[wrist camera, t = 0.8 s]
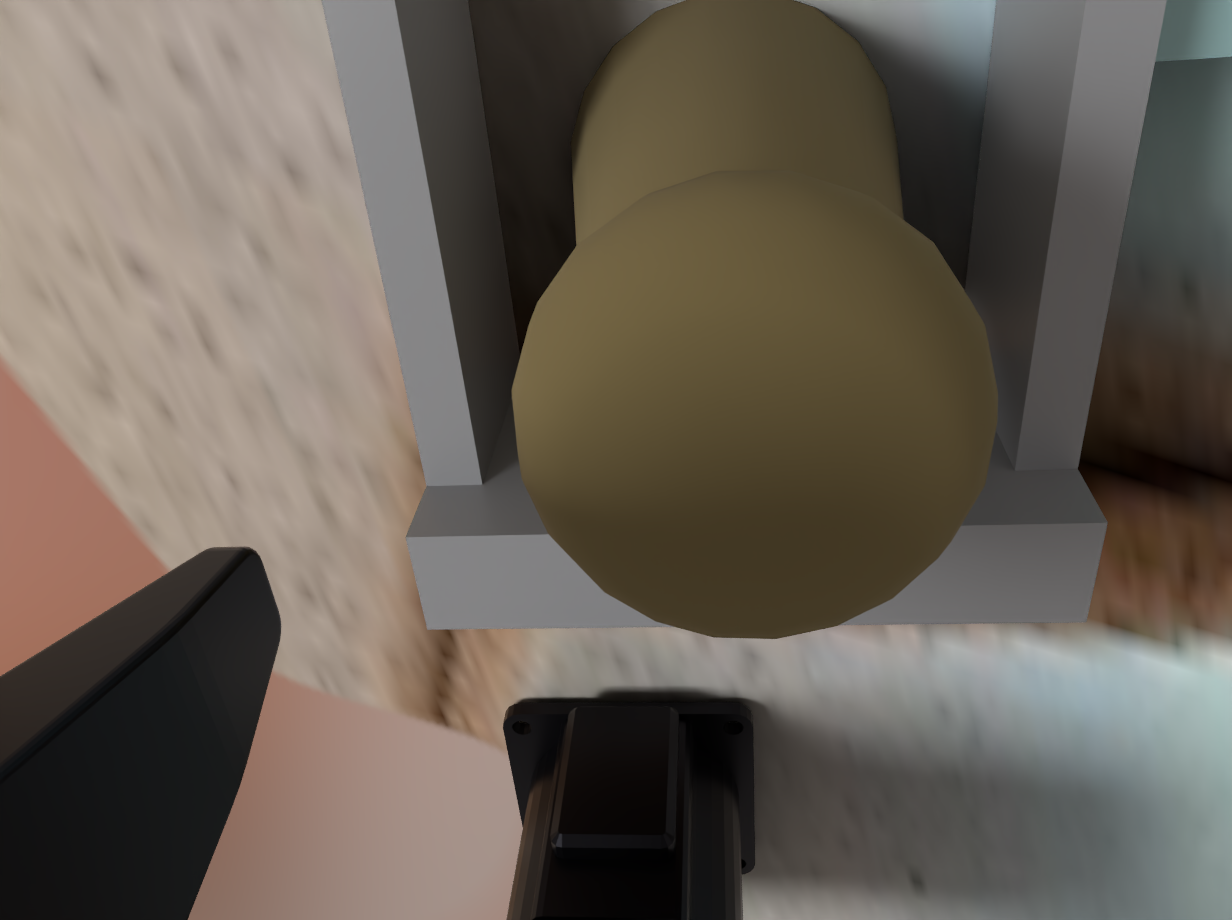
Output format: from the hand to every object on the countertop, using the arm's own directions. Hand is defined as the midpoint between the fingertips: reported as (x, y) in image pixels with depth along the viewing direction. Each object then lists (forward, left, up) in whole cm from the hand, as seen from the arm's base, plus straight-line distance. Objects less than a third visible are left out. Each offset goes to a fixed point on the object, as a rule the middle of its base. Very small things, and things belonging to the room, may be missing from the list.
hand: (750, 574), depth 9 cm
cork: (0, 0, -12) cm, 12 cm away
